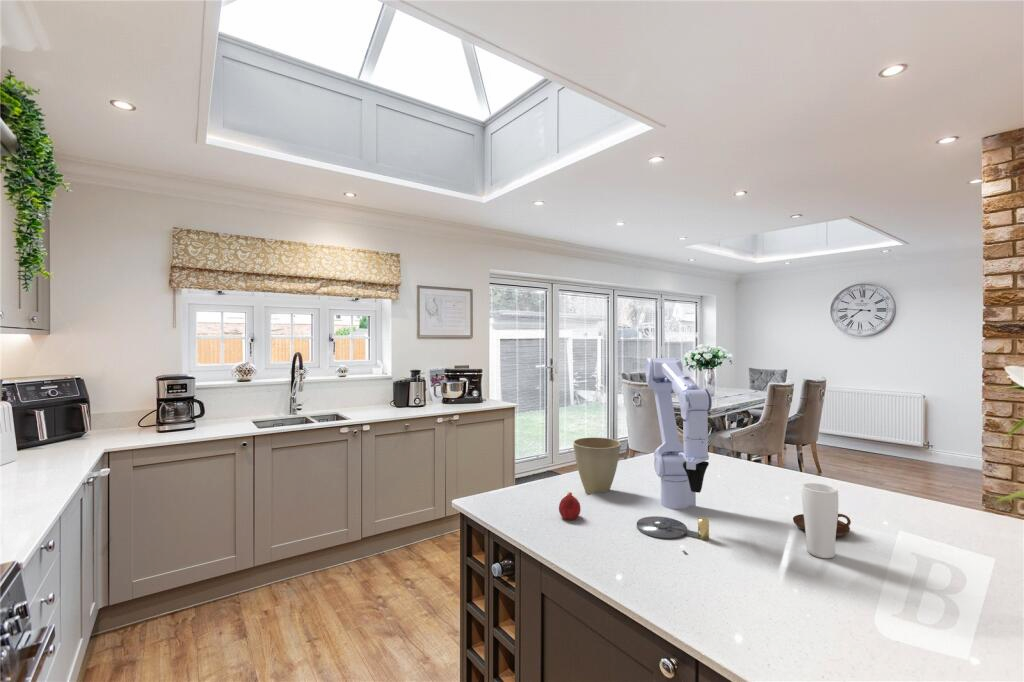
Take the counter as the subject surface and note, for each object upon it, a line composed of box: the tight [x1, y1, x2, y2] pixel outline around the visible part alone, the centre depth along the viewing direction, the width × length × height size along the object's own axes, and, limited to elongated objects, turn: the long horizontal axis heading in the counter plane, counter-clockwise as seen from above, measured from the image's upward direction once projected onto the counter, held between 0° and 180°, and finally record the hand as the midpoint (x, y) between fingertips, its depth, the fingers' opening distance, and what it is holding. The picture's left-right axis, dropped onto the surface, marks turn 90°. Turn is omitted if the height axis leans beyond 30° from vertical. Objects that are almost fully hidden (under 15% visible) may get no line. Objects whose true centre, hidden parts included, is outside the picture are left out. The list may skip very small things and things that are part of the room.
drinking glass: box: [801, 482, 839, 559], centre depth 105 cm, size 7×7×15 cm
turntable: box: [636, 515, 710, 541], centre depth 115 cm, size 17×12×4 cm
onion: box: [558, 491, 582, 521], centre depth 125 cm, size 6×6×8 cm
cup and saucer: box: [792, 513, 852, 537], centre depth 118 cm, size 12×12×6 cm
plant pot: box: [572, 436, 621, 495], centre depth 149 cm, size 15×15×16 cm
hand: (696, 491), depth 117 cm, fingers closed
